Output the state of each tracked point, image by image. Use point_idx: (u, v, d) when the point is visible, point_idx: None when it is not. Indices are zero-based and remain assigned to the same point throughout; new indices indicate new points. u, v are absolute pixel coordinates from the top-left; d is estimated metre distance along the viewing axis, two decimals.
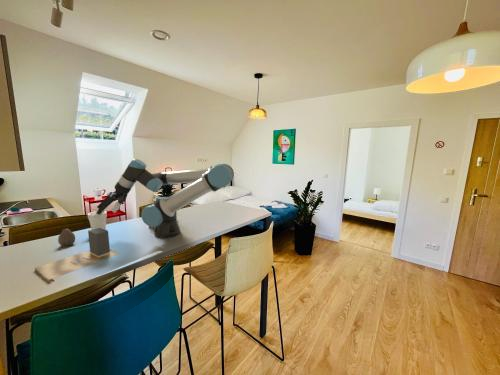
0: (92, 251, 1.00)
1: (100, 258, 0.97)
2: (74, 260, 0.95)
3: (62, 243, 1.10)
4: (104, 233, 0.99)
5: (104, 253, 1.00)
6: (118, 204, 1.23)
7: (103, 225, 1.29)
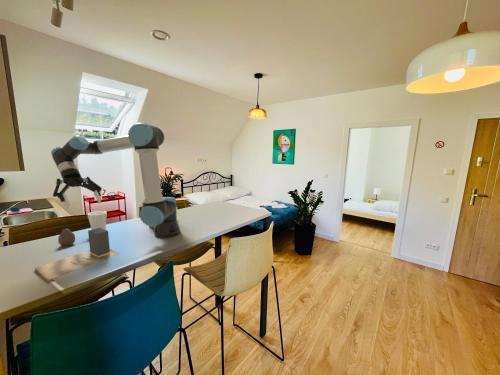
0: (92, 251, 1.00)
1: (100, 258, 0.97)
2: (74, 260, 0.95)
3: (62, 243, 1.10)
4: (104, 233, 0.99)
5: (104, 253, 1.00)
6: (95, 192, 1.13)
7: (103, 225, 1.29)
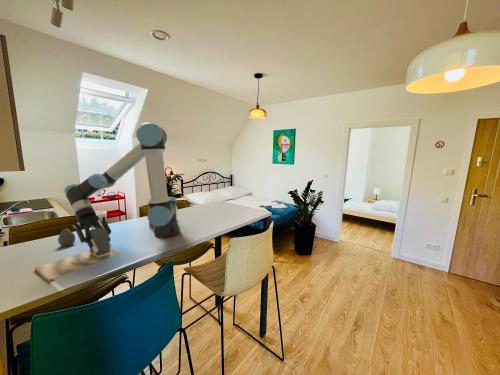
0: (92, 251, 1.00)
1: (100, 258, 0.97)
2: (74, 260, 0.95)
3: (62, 243, 1.10)
4: (104, 233, 0.99)
5: (104, 253, 1.00)
6: None
7: None
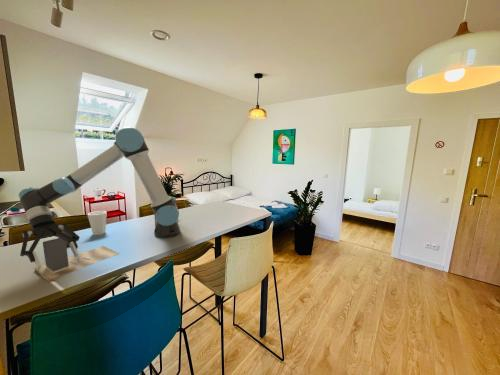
0: (47, 265, 0.87)
1: (100, 258, 0.97)
2: (74, 260, 0.95)
3: None
4: (61, 245, 0.85)
5: (61, 268, 0.86)
6: (70, 244, 0.92)
7: (103, 225, 1.29)
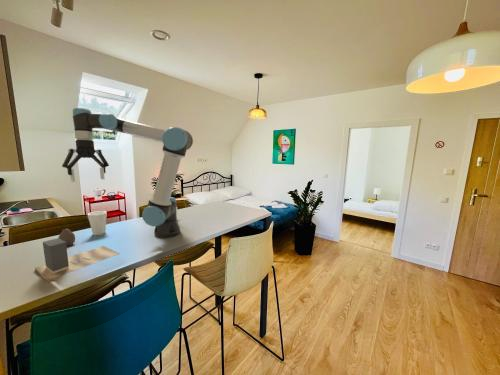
0: (47, 265, 0.87)
1: (100, 258, 0.97)
2: (74, 260, 0.95)
3: None
4: (61, 245, 0.85)
5: (61, 268, 0.86)
6: (101, 169, 1.17)
7: (103, 225, 1.29)
